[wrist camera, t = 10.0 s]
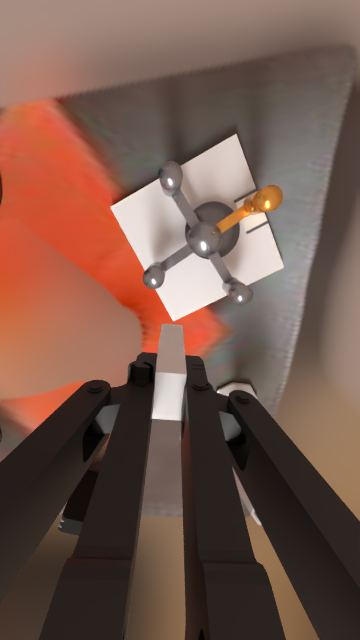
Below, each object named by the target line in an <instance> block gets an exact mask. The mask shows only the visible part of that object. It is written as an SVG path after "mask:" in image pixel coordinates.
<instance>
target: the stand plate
mask: <svg viewBox="0 0 360 640" xmlns="http://www.w3.org/2000/svg"><path fill="white" fill-rule="evenodd" d="M180 167H181V169H182V172H183V178H182V185H181V191H182V193H183V194H184V196H185V198H186V199H187V201H188V203H189V204H190V206H191V208H192V209H193V211H194V210H195V209H196V208H197V207H198V206H200V205H201V204H204V203H206V202H212V201H216V202H221V203H224V204H226V205H227V206H229V207H230V208H231V209H232V210H233V211H235V210H237V209H238V208H240V207H241V206H243V203H244V200H245V199H246V197H248V196H249V195H251V194H253V193H255V192H257V190H256V187H255V185H254V182H253V179H252V176H251V173H250V171H249V168H248V165H247V162H246V159H245V157H244V154H243V151H242V148H241V145H240V143H239V140H238V137H237V134H235V135H233V136H231V137H230V138H228V139H226V140H224V141H223V142H221V143H219V144H218V145H216V146H214V147H212V148H211V149H209V150H207V151H206V152H204V153H202V154H200V155H199V156H197V157H195V158H193V159H192V160H190V161H188V162H187V163H185V164H183V165H181V166H180ZM110 208H111V210H112V212H113V214H114V215H115V217H116V219H117V221H118V223H119V224H120V226H121V228H122V230H123V232H124V233H125V235H126V237H127V239H128V241H129V242H130V244H131V246H132V248H133V250H134V251H135V253H136V255H137V257H138V259H139V260H140V262H141V264H142V266H143V268H144V269H145V271H146V270H147V268H148V267H149V266H150V265H151V264H152V263H153V262H162V261H163V260H165V259H166V258H167V257H169V256H170V255H172V254H173V253H175V252H176V251H178V250H179V249H180V248H182V247H183V246H185V245H186V244H187V241H186V238H185V226H186V220H185V218H184V217H183V215H182V213H181V212H180V210H179V208H178V207H177V205H176V203H175V202H174V200H173V199H172V197H168V196H166V195H165V194H164V193H163V191H162V187H161V184H160V180H159V179H157V180H156V181H154V182H152V183H151V184H149V185H147V186H145V187H144V188H142V189H140V190H139V191H137V192H135V193H133V194H132V195H130V196H128V197H126V198H125V199H123V200H121V201H120V202H118V203H116V204H114V205H113V206H111V207H110ZM239 225H240V234H239V238H238V241H237V243H236V245H235V247H234V248H233V249H232V251H231V252H230V253H228V254H227V255H226V256H224V257H222V258H221V259H222V260H223V262H224V264H225V265H226V267H227V269H228V270H229V272H230V274H231V276H232V277H235V278H237V279H238V280H239V281H241V282H242V283H244V284H245V285H246V286H247V285H249V284H251V283H253V282H255V281H257V280H259V279H261V278H263V277H265V276H267V275H269V274H272V273H274V272H276V271H278V270H280V269H282V268H284V266H283V263H282V260H281V257H280V254H279V252H278V249H277V246H276V243H275V240H274V238H273V235H272V232H271V229H270V227H269V224H268V221H267V218H266V215H265V213H260V214H256V215H248V216H246V217H245V218H243V219H242V220H241V221H239ZM222 283H223V281H222V279H221V277H220V276H219V274H218V273H217V271H216V269H215V268H214V266H213V264H212V263H211V261H210V260H208V259H204V258H201V257H199V256H197V255H196V254H195V253H192V254H191V255H189V256H188V257H186V258H185V259H183V260H182V261H180V262H179V263H177V264H176V265H175V266H173V267H172V268H170V269H169V270H167V271H166V274H165V278H164V282H163V284H162V286H161V287H159V288H157V289H156V291H157V293H158V295H159V297H160V298H161V300H162V302H163V304H164V306H165V307H166V309H167V311H168V313H169V315H170V316H171V318H172V320H173V321H175V320H177V319H179V318H181V317H184V316H186V315H188V314H190V313H192V312H194V311H196V310H198V309H200V308H202V307H204V306H206V305H208V304H210V303H212V302H214V301H216V300H218V299H220V298H222V297H224V296H226V295H227V294H226V292H225V291H224V290H223V288H222Z"/></svg>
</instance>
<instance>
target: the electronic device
mask: <svg viewBox="0 0 360 640" xmlns="http://www.w3.org/2000/svg"><path fill="white" fill-rule="evenodd" d="M98 474H99V473H97V472H93V471H89V470H87V471H86V473H85V474H84V476H83V477H82V479H81V481H80V482H79V484H78V485H77V487H76V488H75V490H74V491H73V493H72V495H71V496H70V498H69V499H68V502H67V504H66V507H65V509H64V512H63V514H62V517H61V520H60V523H59V526H58V529H59V530H60V531H61V532H65V533H70V534H74V535H80V532H81V528H82V525H83V522H84V519H85V516H86V512H87V509H88V506H89V503H90V500H91V496H92V493H93V490H94V487H95V483H96V480H97V477H98Z"/></svg>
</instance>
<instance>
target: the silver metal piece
mask: <svg viewBox="0 0 360 640" xmlns="http://www.w3.org/2000/svg"><path fill="white" fill-rule="evenodd" d="M158 175H159V180H160V184H161V187H162V191H163V193H164V194H165V195H166V196H168V197H172V199H173V200H174V202H175V203H176V205H177V207H178V208H179V210H180V212H181V213H182V215H183V217H184V218H185V220H186V226H185V238H186V241H187V244H186V245H185V246H183V247H182V248H180V249H179V250H178V251H176V252H175V253H173V254H172V255H170V256H169V257H167V258H166V259H165V260H163V261H162V262H153V263H152V264H151V265H150V266H149V267H148V268H147V270H146V271H145V272H144V274H143V282H144V284H145V285H146V286H147V287H148V288H150V289H157V288H159V287H161V286H162V284H163V282H164V278H165V274H166V271H167V270H169V269H170V268H172V267H173V266H175V265H176V264H177V263H179V262H180V261H182V260H183V259H185V258H186V257H188V256H189V255H191V254H192V253H195V254H196V255H197V256H199V257H201V258H204V259H208V260H210V261H211V263H212V264H213V266H214V268H215V269H216V271H217V273H218V274H219V276H220V277H221V279H222V281H223V283H222V288H223V290H224V291H225V292H226V294H227V295H228V296H229V297H230V298H231V299H232V301H233V302H234V303H235V304H237V305H239V306H244V305H247V304H248V303H249V302H250V301H251V300H252V297H253V293H252V290H251V289H250V288H249V287H248V286H246V285H245V284H244V283H242V282H241V281H239V280H238V279H237V278H235V277H232V276H231V274H230V272H229V270H228V269H227V267H226V265H225V264H224V262H223V260H222V259H221V258H222V257H224V256H226V255H227V254H228V253H230V252H231V251H232V249H233V248H234V247H235V245H236V243H237V241H238V238H239V234H240V225H239V221H241V220H242V219H243V218H245V217H246V216H248V215H256V214H260V213H265V212H269V211H273V210H275V209H277V208H278V207H279V206H280V204H281V202H282V199H283V194H282V191H281V189H280V188H279V187H278V186H275V185H269V186H267V187H265V188H263V189H261V190H259V191H257V192H255V193H253V194H251V195H249V196H248V197H246V199H245V200H244V203H243V206H241V207H240V208H238V209H237V210H235V211H233V210H232V209H231V208H230V207H229V206H227V205H226V204H224V203H221V202H216V201H212V202H206V203H204V204H201V205H200V206H198V207H197V208H196V209H195V210H194V211H193V209H192V208H191V206H190V204H189V203H188V201H187V199H186V198H185V196H184V194H183V193H182V191H181V185H182V178H183V172H182V169H181V167H180V165H179V164H178V163H176V162H175V161H166V162H164V163H163V164H162V165H161V167H160V169H159V174H158Z"/></svg>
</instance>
